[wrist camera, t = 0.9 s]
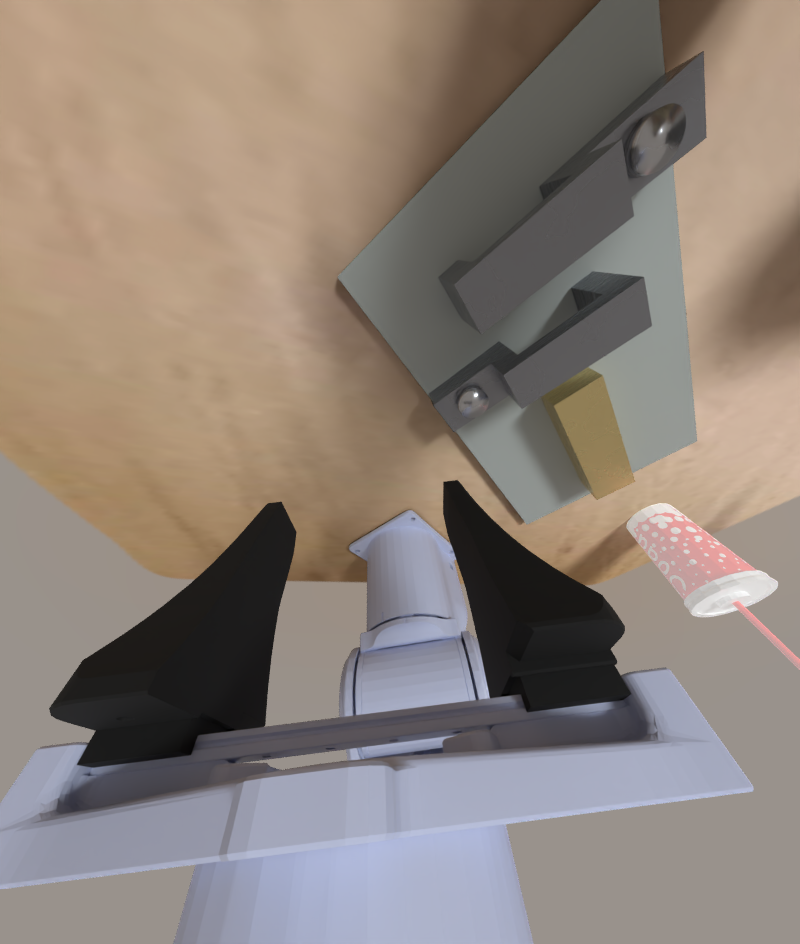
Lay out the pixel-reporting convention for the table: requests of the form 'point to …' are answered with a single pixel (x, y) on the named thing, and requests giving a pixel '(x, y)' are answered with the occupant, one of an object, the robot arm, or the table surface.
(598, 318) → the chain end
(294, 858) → the robot arm
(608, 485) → the link bar
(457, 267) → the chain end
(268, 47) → the table surface
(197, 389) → the table surface
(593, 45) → the mat
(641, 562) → the table surface
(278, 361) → the table surface
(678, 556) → the beverage cup
